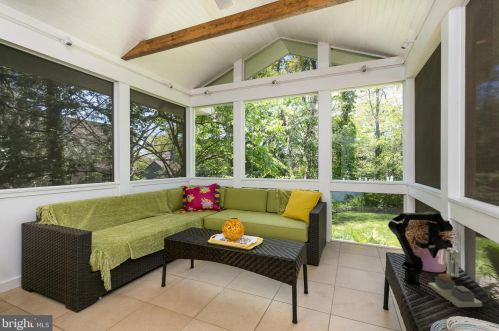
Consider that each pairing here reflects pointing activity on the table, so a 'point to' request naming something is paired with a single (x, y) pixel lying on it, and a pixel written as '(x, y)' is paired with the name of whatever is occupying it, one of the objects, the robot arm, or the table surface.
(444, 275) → the terracotta plunger
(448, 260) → the beer glass
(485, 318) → the table surface
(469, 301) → the console
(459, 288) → the plunger
